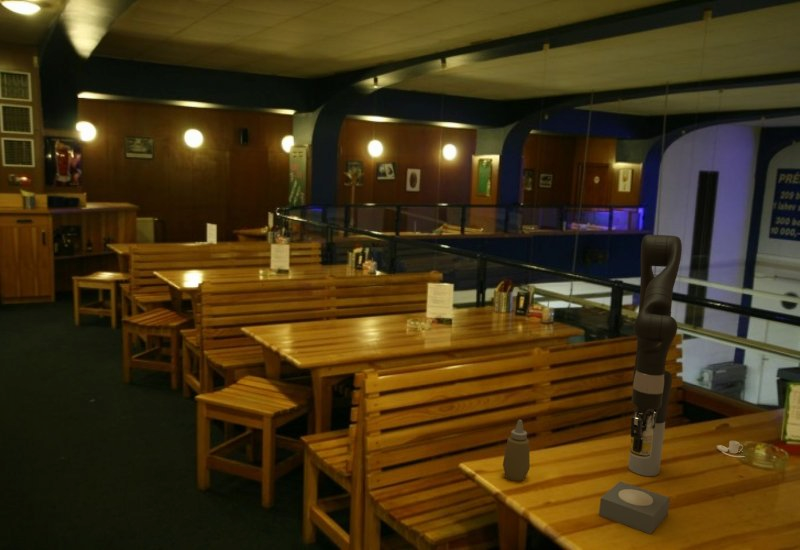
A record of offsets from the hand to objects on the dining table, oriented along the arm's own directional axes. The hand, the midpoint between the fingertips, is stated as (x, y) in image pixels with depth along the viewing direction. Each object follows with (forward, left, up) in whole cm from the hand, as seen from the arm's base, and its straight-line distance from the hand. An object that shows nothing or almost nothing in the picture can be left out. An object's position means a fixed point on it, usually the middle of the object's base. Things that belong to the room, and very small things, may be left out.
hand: (641, 447), depth 185 cm
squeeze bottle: (+3, -35, -20) cm, 40 cm away
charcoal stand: (0, 0, -19) cm, 19 cm away
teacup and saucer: (-70, +8, -20) cm, 74 cm away
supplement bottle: (0, 0, -2) cm, 2 cm away
